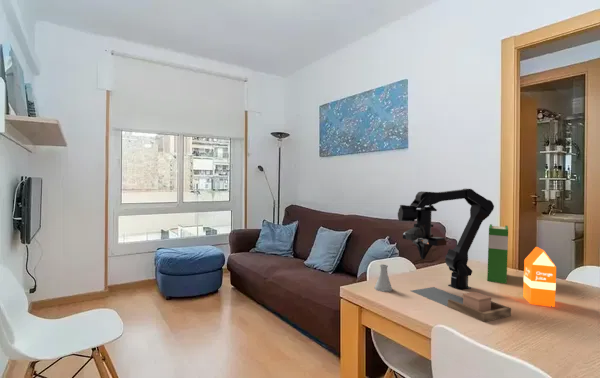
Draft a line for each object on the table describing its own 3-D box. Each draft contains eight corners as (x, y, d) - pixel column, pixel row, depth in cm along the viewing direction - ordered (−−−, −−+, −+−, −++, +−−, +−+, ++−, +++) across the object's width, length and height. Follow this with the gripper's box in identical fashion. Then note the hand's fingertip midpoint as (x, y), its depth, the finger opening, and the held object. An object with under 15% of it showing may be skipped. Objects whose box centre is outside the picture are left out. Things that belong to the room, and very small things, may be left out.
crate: (474, 305, 118) (475, 291, 117) (491, 312, 112) (491, 297, 112) (462, 308, 115) (462, 293, 115) (478, 314, 109) (479, 299, 109)
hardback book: (488, 272, 165) (489, 224, 164) (505, 274, 161) (507, 225, 161) (487, 280, 150) (488, 228, 149) (506, 283, 146) (508, 229, 146)
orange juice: (546, 299, 127) (548, 247, 127) (555, 307, 119) (557, 251, 118) (522, 296, 130) (524, 245, 129) (529, 304, 121) (531, 249, 121)
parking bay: (473, 301, 122) (473, 294, 122) (510, 315, 109) (511, 308, 109) (447, 306, 116) (447, 299, 116) (484, 322, 104) (484, 314, 104)
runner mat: (433, 287, 138) (433, 286, 138) (510, 316, 109) (510, 315, 109) (409, 291, 133) (409, 290, 133) (483, 322, 104) (483, 321, 104)
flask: (393, 293, 130) (393, 268, 130) (374, 291, 132) (374, 266, 132) (391, 287, 138) (392, 263, 137) (373, 286, 139) (374, 262, 139)
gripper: (393, 219, 143) (392, 255, 143) (426, 225, 126) (425, 266, 126) (413, 219, 147) (412, 253, 148) (447, 224, 131) (446, 263, 131)
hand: (422, 258), depth 138 cm, fingers closed
